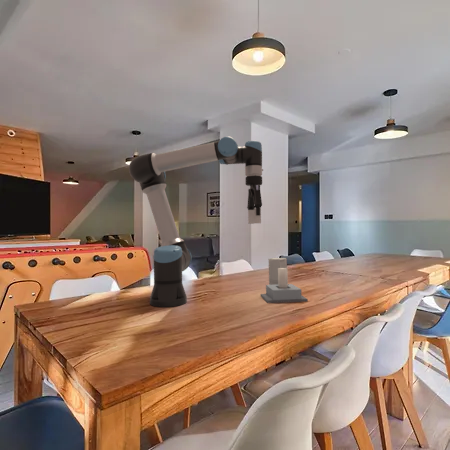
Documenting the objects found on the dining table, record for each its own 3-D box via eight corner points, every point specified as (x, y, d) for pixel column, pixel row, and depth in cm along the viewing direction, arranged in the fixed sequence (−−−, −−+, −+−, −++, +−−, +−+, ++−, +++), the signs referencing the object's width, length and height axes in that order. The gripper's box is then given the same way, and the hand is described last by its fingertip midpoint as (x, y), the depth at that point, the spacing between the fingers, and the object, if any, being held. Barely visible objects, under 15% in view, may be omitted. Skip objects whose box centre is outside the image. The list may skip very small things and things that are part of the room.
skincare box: (280, 292, 144) (279, 259, 144) (267, 290, 148) (267, 258, 148) (287, 289, 151) (287, 257, 151) (276, 287, 155) (275, 257, 155)
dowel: (279, 297, 129) (279, 269, 129) (277, 295, 133) (276, 268, 133) (289, 297, 129) (288, 269, 129) (286, 295, 133) (285, 267, 133)
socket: (267, 303, 124) (267, 290, 124) (260, 296, 136) (260, 284, 136) (307, 301, 126) (307, 289, 126) (297, 294, 138) (296, 283, 138)
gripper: (269, 171, 124) (269, 223, 124) (256, 180, 149) (256, 223, 149) (251, 171, 123) (251, 223, 123) (241, 180, 148) (241, 223, 148)
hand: (254, 223), depth 136 cm, fingers open, 13 cm apart
